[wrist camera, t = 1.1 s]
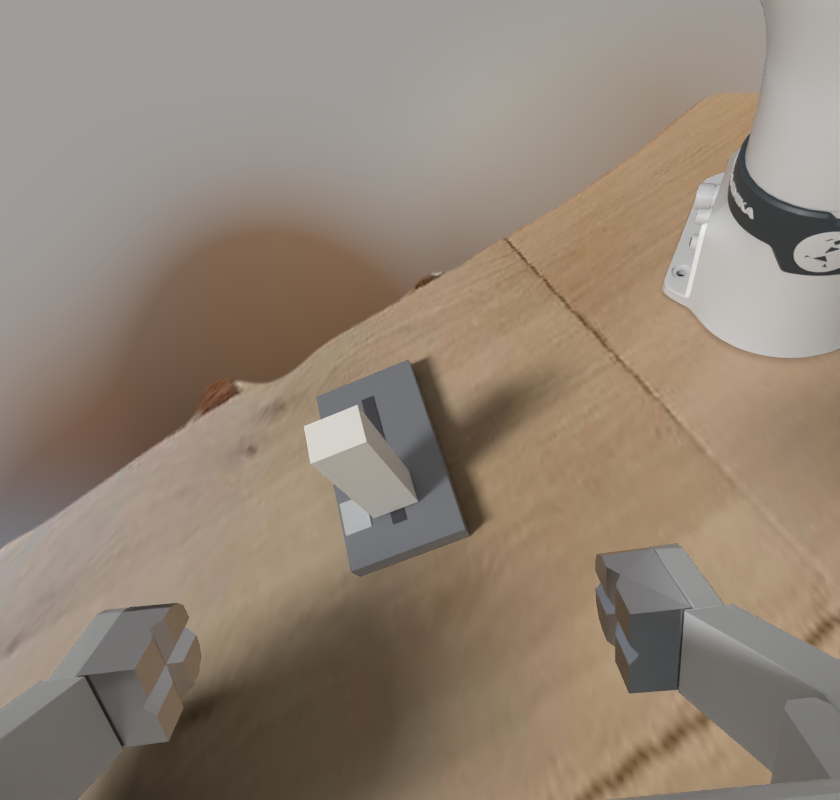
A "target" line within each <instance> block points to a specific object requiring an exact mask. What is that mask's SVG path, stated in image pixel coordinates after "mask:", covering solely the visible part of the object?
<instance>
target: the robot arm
mask: <svg viewBox="0 0 840 800" xmlns="http://www.w3.org/2000/svg"><path fill="white" fill-rule="evenodd" d="M760 1H761V5H762V8H763V12H764V17H765V24H766V37H767V38H766V41H767V43H766V58H765V64H764V71H763V78H762V84H761V89H760V94H759V99H758V105H757V109H756V113H755V118H754V122H753V126H752V129H751V133H750V134H749V135H748V136H747V138H746V139H745V141H744V143H743V144H742V147H741V148H739V149H738V150H736V151H735V152H734V153H733V154H732V155H731V157H730V160H729V163H728V165H727V168H726V171H725V172H723V173H720V174H717V175H715V176H712V177H710V178H708V179H706V180H704V181H703V183H700V185H699V188H698V191H697V195H696V199H695V202H694V205H693V207H692V210H691V213H690V215H689V218H688V220H687V223H686V225H685V228H684V231H683V233H682V236H681V238H680V241H679V243H678V246H677V249H676V251H675V254H674V256H673V259H672V261H671V264H670V267H669V269H668V272H667V274H666V277H665V280H664V283H663V286H662V289H663V292H664V293H665V294H666V295H667V296H668V297H670V298H671V299H673V300H675V301H676V302H678V303H680V304H682V305H684V306H686V307H688V308H689V309H690V310H691V311H692V312H693V313H694V314H695V316H696V317H697V318H698V319H699V320H700V322H701V323H702V324H703V325H704V326H705V327H706V328H707V329H708V330H709V331H710V332H712V333H713V334H714V335H715V336H717V337H718V338H720V339H721V340H723V341H725V342H727V343H729V344H731V345H733V346H735V347H737V348H740V349H742V350H745V351H748V352H751V353H755V354H759V355H764V356H771V357H780V358H801V357H811V356H816V355H821V354H825V353H829V352H832V351H835V350H838V349H840V0H760ZM678 275H684V276H678ZM595 571H596V573H597V576H598V578H599V580H600V582H601V583H600V584H599V586H598V587H597V588H596V605H597V610H598V616H599V620H600V623H601V627H602V630H603V632H604V635H605V637H606V640H607V641H608V642H609V643H611V644H612V645H613V646H615V662H616V664H617V666H618V669H619V671H620V673H621V676H622V678H623V680H624V683H625V685H626V687H627V690H628V692H629V693H642V692H655V691H668V690H679V693H680V694H681V695H682V696H684V697H685V698H686V699H687V700H688V701H689V702H691V703H692V704H693V705H694V706H695V707H696V708H698V709H699V710H700V711H701V712H702V713H703V714H705V715H706V716H707V717H708V718H709V719H710V720H712V721H713V722H714V723H715V724H716V725H717V726H719V727H720V728H721V729H722V730H723V731H724V732H726V733H727V734H728V735H729V736H730V737H731V738H733V739H734V740H735V741H736V742H737V743H738V744H740V745H741V746H742V747H743V748H744V749H745V750H747V751H748V752H749V753H750V754H751V755H752V756H754V757H755V758H756V759H757V760H758V761H759V762H761V763H762V764H763V765H764V766H765V767H766V768H768V769H769V770H770V771H771V772H772V778H771V784H765V785H754V786H744V787H733V788H723V789H712V790H702V791H691V792H681V793H670V794H660V795H649V796H639V797H628V798H618V799H607V800H840V660H838V659H836V658H834V657H832V656H830V655H829V654H827V653H825V652H823V651H821V650H819V649H817V648H815V647H813V646H811V645H810V644H808V643H806V642H804V641H802V640H800V639H798V638H796V637H794V636H793V635H791V634H789V633H787V632H785V631H783V630H781V629H779V628H777V627H776V626H774V625H772V624H770V623H768V622H766V621H764V620H762V619H760V618H759V617H757V616H755V615H753V614H751V613H749V612H747V611H745V610H743V609H741V608H740V607H738V606H736V605H734V604H732V605H725V604H724V603H723V602H722V600H721V599H720V598H719V596H718V595H717V593H716V592H715V591H714V589H713V588H712V587H711V585H710V584H709V583H708V581H707V580H706V579H705V577H704V576H703V575H702V573H701V572H700V571H699V569H698V568H697V566H696V565H695V564H694V562H693V561H692V560H691V558H690V557H689V556H688V554H687V553H686V552H685V550H684V549H683V548H682V546H680V545H679V544H677V543H675V544H667V545H660V546H653V547H650V548H641V549H633V550H625V551H617V552H609V553H601V554H597V555H596V560H595ZM188 619H189V616H188V614H187V612H186V610H185V608H184V606H183V605H182V604H178V603H170V604H160V605H149V606H138V607H129V608H121V609H110V610H104V611H103V612H101V613H99V614H97V615H96V617H95V618H94V619H93V621H92V622H91V624H90V625H89V626H88V628H87V629H86V630H85V632H84V633H83V634H82V636H81V637H80V638H79V640H78V641H77V642H76V644H75V645H74V646H73V648H72V649H71V651H70V652H69V653H68V655H67V656H66V657H65V659H64V660H63V661H62V663H61V664H60V665H59V667H58V668H57V669H56V671H55V672H54V673H53V675H52V676H51V678H50V679H49V680H47V681H40V682H39V683H37V684H36V685H34V686H33V687H32V688H30V689H29V690H27V691H26V692H24V693H23V694H22V695H20V696H19V697H17V698H16V699H14V700H13V701H12V702H10V703H9V704H7V705H6V706H4V707H3V708H2V709H0V800H77V799H78V798H79V797H80V796H81V795H82V794H83V793H84V792H85V791H86V790H87V788H88V787H89V786H90V785H91V784H92V783H93V782H94V781H95V780H96V779H97V778H98V777H99V776H100V775H101V774H102V773H103V771H104V770H105V769H106V768H107V767H108V766H109V765H110V764H111V763H112V762H113V761H114V760H115V759H116V758H117V757H118V756H119V754H120V753H121V752H122V751H123V748H124V747H132V746H139V745H147V744H154V743H161V742H169V740H170V737H171V735H172V733H173V731H174V728H175V726H176V724H177V722H178V719H179V717H180V715H181V713H182V710H183V708H184V707H183V704H182V701H181V697H182V696H183V695H184V694H185V693H186V692H187V691H188V690H189V689H191V688H192V687H193V685H194V683H195V680H196V678H197V676H198V673H199V668H200V661H201V651H200V644H199V641H198V639H197V636H196V634H194V633H193V632H191V631H190V630H188V629H187V628H186V627H185V626H186V623H187V621H188Z"/></svg>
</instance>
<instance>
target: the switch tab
mask: <svg viewBox="0 0 840 800" xmlns="http://www.w3.org/2000/svg"><path fill="white" fill-rule="evenodd" d="M304 429H305V435H306V441H307V446H308V452H309V458H310V463H311V465H312V466H314V467H315V468H316V469H317V470H318V471H319V472H321V473H322V474H323V475H324V476H325V477H326V478H328V479H329V480H330V481H331V482H332V483H333V484H335V485H336V486H337V487H338V488H339V489H340V490H342V491H343V492H344V493H345V494H346V495H347V496H349V497H350V498H351V499H352V500H353V501H354V502H356V503H357V504H358V505H359V506H360V507H361V508H363V509H364V510H365V511H366V512H367V513H368V514H370V515H371V516H372V517H373V518H377V517H379V516H382V515H384V514H387V513H390V512H392V511H395V510H398V509H400V508H403V507H405V506H408V505H411V504H413V503H416V502H418V500H417V496H416V493H415V489H414V486H413V483H412V479H411V476H410V472H409V470H408V469H407V467H406V466H405V465H404V464H403V462H402V461H401V460H400V458H399V457H398V456H397V455H396V453H395V452H394V451H393V449H392V448H391V447H390V446H389V444H388V443H387V442H386V441H385V439H384V438H383V437H382V435H381V434H380V433H379V432H378V430H377V429H376V428H375V427H374V425H373V424H372V423H371V421H370V420H369V419H368V418H367V416H366V415H365V414H364V412H363V411H362V410H361V409H360V407H359V406H358V405H355V406H353V407H350V408H348V409H345V410H343V411H340V412H338V413H336V414H333V415H331V416H328V417H326V418H323V419H321V420H318V421H316V422H313V423H311V424H308V425H306V426H304Z"/></svg>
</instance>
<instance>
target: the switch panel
mask: <svg viewBox="0 0 840 800" xmlns="http://www.w3.org/2000/svg"><path fill="white" fill-rule="evenodd" d="M317 402H318V407H319V412H320V417H321V419H323V418H326V417H328V416H331V415H333V414H336V413H338V412H340V411H343V410H345V409H348V408H350V407H353V406H355V405H358V406H359V407H360V409H361V410H362V411H363V412H364V414H365V415H366V416H367V418H368V419H369V420H370V421H371V423H372V424H373V425H374V427H375V428H376V429H377V430H378V432H379V433H380V434H381V435H382V437H383V438H384V439H385V441H386V442H387V443H388V444H389V446H390V447H391V448H392V449H393V451H394V452H395V453H396V455H397V456H398V457H399V458H400V460H401V461H402V462H403V464H404V465H405V466H406V467H407V469H408V470H409V472H410V476H411V479H412V483H413V486H414V489H415V493H416V496H417V500H418V502H416V503H413V504H411V505H408V506H405V507H403V508H400V509H398V510H395V511H392V512H390V513H387V514H384V515H382V516H379V517H377V518H373V517H372V516H371V515H370V514H368V513H367V512H366V511H365V510H364V509H363V508H361V507H360V506H359V505H358V504H357V503H356V502H354V501H353V500H352V499H351V498H350V497H349V496H347V495H346V494H345V493H344V492H343V491H342V490H340V489H339V488H338V487H337V486H336V485H335V484H334V488H335V493H336V498H337V503H338V508H339V514H340V519H341V524H342V529H343V534H344V539H345V544H346V549H347V554H348V559H349V564H350V569H351V572H353V573H354V574H356V575H358V576H360V577H361V576H363V575H366V574H369V573H371V572H374V571H377V570H379V569H382V568H385V567H387V566H390V565H393V564H396V563H398V562H401V561H404V560H406V559H409V558H412V557H414V556H417V555H420V554H422V553H425V552H428V551H431V550H433V549H436V548H439V547H441V546H444V545H447V544H449V543H452V542H455V541H458V540H460V539H463V538H466V537H468V536H470V534H469V531H468V528H467V525H466V522H465V519H464V516H463V513H462V510H461V507H460V504H459V501H458V498H457V495H456V492H455V489H454V486H453V483H452V480H451V477H450V474H449V472H448V469H447V466H446V463H445V460H444V457H443V454H442V451H441V448H440V445H439V442H438V439H437V436H436V433H435V430H434V427H433V424H432V421H431V418H430V415H429V412H428V409H427V406H426V403H425V400H424V397H423V395H422V392H421V389H420V386H419V383H418V380H417V377H416V374H415V371H414V369H413V367H412V365H411V363H410V361H409V360H406V361H404V362H401V363H399V364H396V365H394V366H392V367H389V368H387V369H384V370H382V371H379V372H377V373H374V374H372V375H369V376H367V377H365V378H362V379H360V380H357V381H355V382H352V383H350V384H347V385H345V386H343V387H340V388H338V389H335V390H333V391H330V392H328V393H325V394H323V395H320V396H318V397H317Z"/></svg>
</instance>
